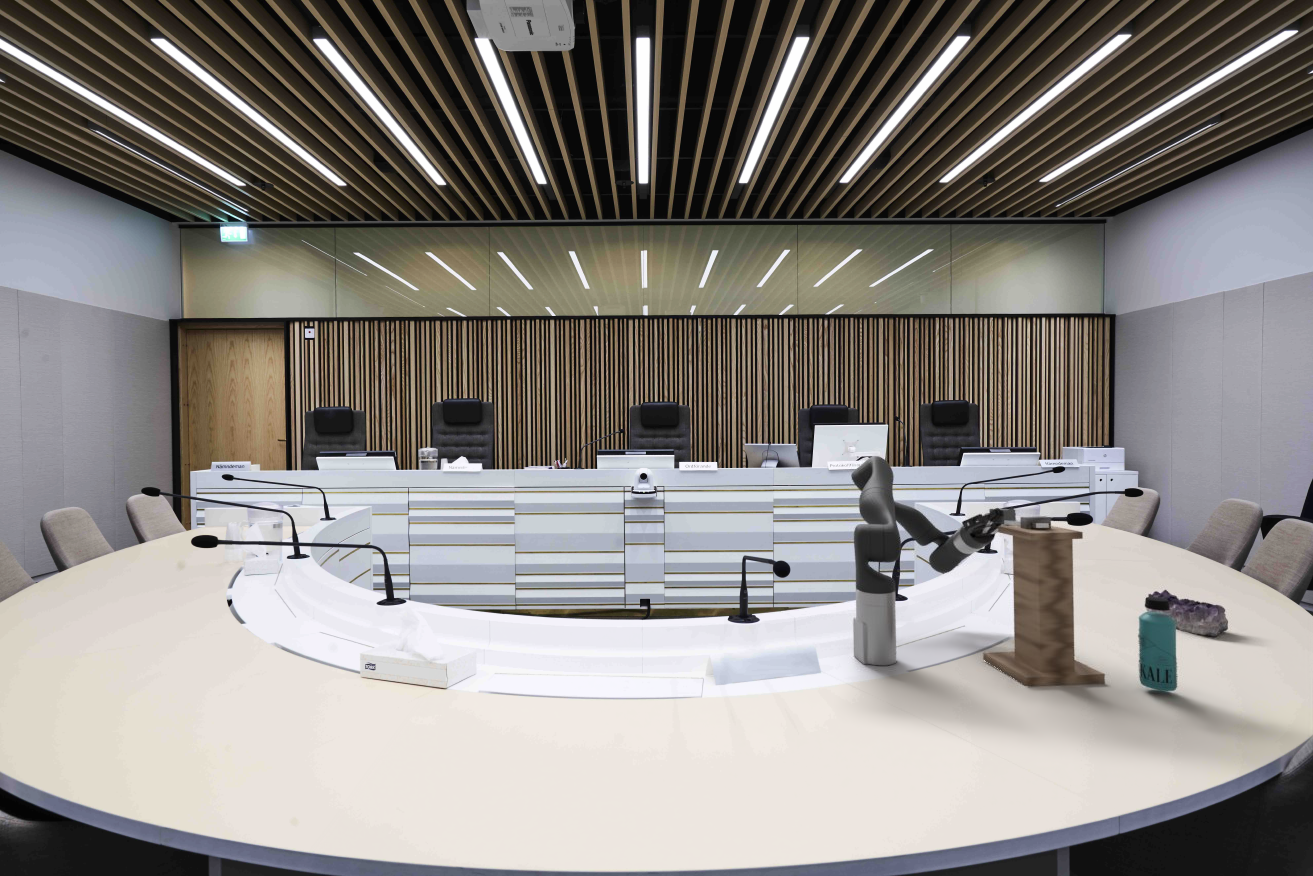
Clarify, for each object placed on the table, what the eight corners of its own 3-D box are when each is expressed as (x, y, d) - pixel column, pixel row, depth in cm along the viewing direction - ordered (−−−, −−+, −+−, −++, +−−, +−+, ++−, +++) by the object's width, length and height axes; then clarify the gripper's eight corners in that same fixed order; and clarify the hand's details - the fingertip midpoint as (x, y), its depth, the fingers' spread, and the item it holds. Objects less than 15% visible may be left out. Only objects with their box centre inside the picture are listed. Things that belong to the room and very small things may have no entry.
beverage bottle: (1163, 686, 136) (1162, 594, 136) (1186, 699, 130) (1184, 602, 130) (1131, 686, 137) (1130, 593, 137) (1152, 698, 130) (1150, 601, 130)
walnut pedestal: (1026, 686, 138) (1023, 523, 138) (983, 660, 153) (980, 514, 154) (1104, 683, 139) (1102, 521, 139) (1053, 658, 155) (1051, 512, 155)
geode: (1130, 620, 186) (1132, 585, 187) (1159, 621, 189) (1161, 587, 190) (1208, 638, 166) (1209, 599, 167) (1239, 639, 169) (1240, 601, 170)
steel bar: (1036, 527, 145) (1035, 512, 145) (990, 522, 162) (989, 508, 163) (1048, 527, 145) (1047, 512, 145) (1001, 522, 163) (1000, 508, 163)
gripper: (944, 524, 175) (974, 498, 160) (993, 522, 175) (1028, 497, 160) (952, 550, 171) (983, 526, 156) (1002, 548, 172) (1038, 524, 157)
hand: (1006, 511), depth 158 cm, fingers closed on steel bar, 3 cm apart
